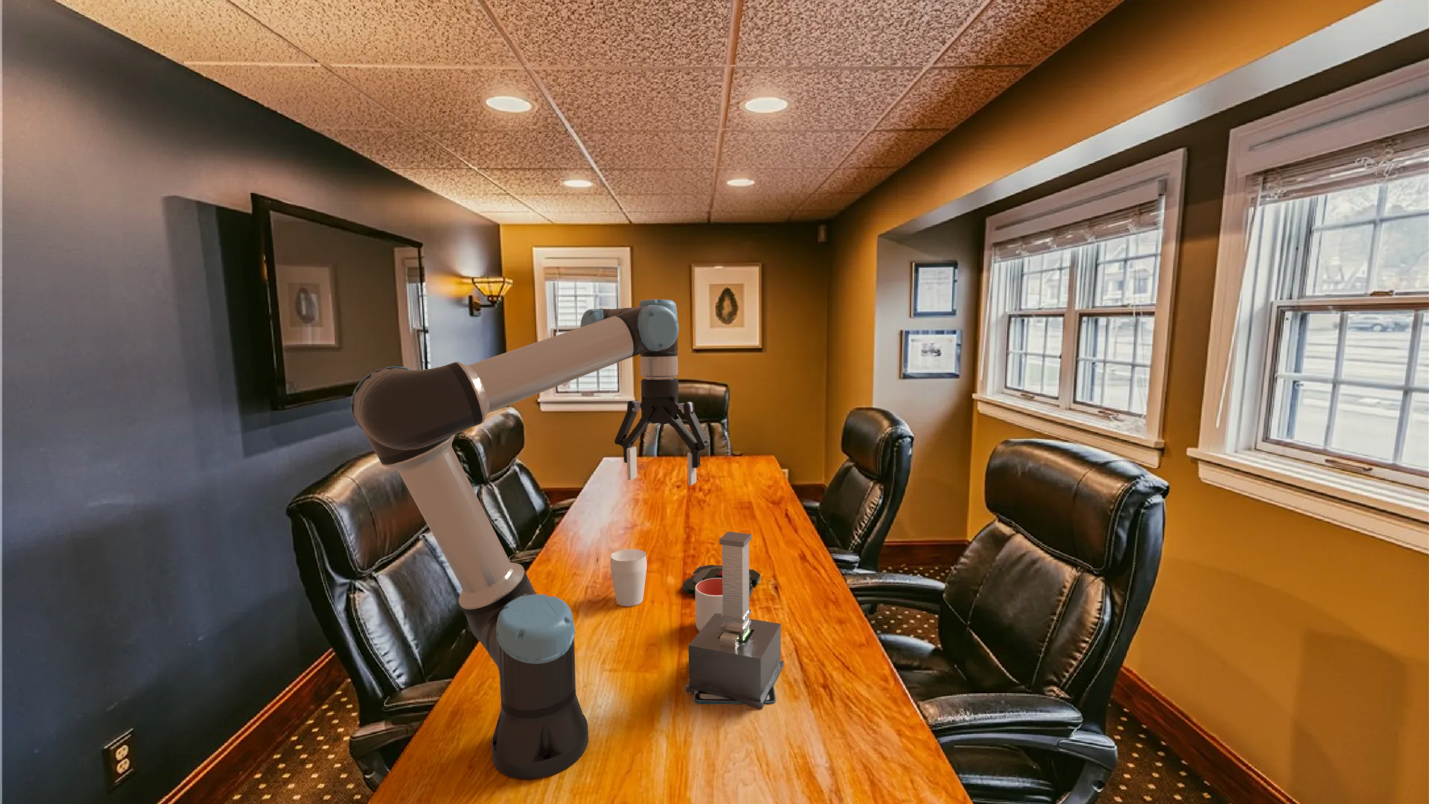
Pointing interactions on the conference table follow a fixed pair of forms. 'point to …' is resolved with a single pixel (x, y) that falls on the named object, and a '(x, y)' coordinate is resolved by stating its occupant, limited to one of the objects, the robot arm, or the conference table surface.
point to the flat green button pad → (714, 572)
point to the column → (736, 584)
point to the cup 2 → (708, 600)
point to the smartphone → (712, 699)
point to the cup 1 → (628, 576)
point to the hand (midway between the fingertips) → (661, 481)
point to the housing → (736, 662)
